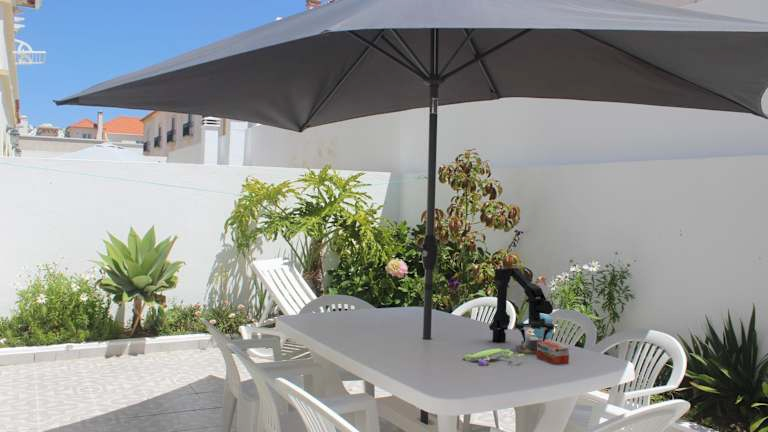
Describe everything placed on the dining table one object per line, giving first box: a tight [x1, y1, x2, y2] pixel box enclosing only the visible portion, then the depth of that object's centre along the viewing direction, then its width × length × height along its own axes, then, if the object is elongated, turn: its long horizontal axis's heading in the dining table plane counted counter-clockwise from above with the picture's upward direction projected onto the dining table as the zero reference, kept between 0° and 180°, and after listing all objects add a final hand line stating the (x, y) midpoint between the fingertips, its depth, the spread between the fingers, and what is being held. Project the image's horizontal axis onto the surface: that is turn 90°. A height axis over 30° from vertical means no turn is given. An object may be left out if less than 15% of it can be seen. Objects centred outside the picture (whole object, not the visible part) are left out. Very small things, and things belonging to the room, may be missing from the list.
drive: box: [525, 336, 543, 351], centre depth 337 cm, size 6×10×5 cm, turn 179°
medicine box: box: [536, 340, 570, 365], centre depth 316 cm, size 15×8×8 cm, turn 20°
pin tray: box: [515, 340, 537, 355], centre depth 337 cm, size 16×16×4 cm
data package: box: [533, 313, 553, 339], centre depth 374 cm, size 12×4×12 cm, turn 19°
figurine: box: [462, 348, 526, 367], centre depth 314 cm, size 18×27×6 cm
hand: (534, 342), depth 337 cm, fingers open, 9 cm apart
